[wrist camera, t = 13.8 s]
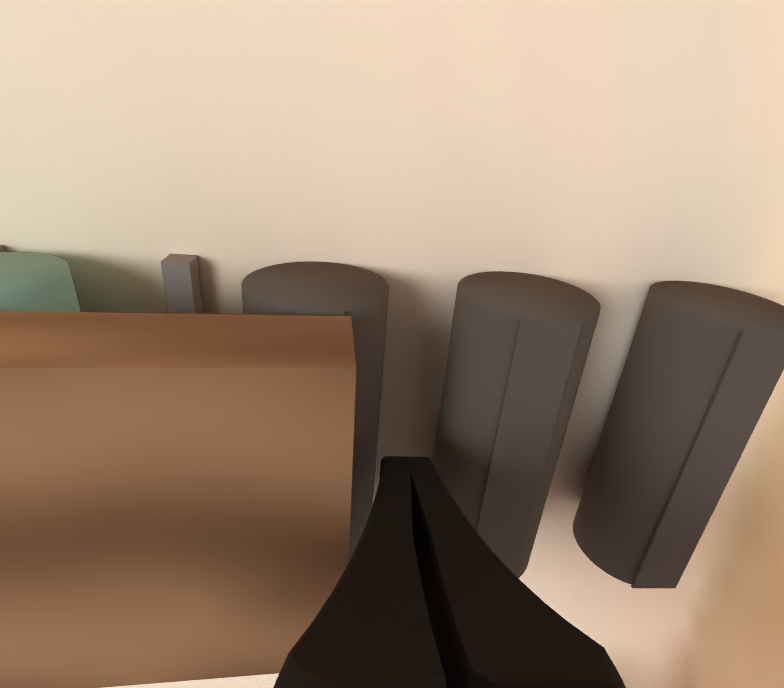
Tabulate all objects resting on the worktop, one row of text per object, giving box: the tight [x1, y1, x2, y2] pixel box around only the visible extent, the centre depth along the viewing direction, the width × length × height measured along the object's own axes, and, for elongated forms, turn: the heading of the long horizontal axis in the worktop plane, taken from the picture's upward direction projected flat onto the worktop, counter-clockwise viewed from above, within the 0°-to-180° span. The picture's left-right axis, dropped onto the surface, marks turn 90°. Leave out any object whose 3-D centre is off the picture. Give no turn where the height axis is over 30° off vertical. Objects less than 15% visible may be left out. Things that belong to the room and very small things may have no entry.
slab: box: [0, 311, 356, 688], centre depth 12 cm, size 10×14×2 cm
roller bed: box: [0, 245, 784, 588], centre depth 16 cm, size 10×24×4 cm, turn 86°
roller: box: [0, 252, 81, 312], centre depth 15 cm, size 10×4×4 cm
